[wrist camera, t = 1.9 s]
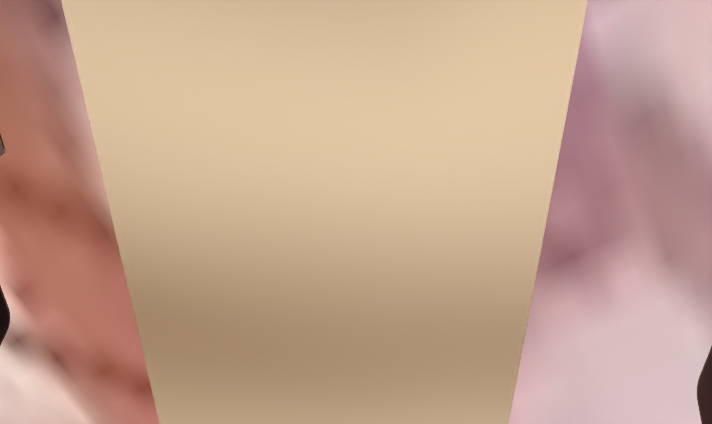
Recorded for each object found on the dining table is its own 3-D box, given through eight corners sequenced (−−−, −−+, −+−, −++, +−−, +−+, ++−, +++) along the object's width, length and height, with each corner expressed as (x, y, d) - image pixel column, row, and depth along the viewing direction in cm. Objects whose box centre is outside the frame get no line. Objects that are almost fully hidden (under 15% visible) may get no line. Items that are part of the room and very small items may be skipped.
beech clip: (461, 369, 16) (461, 677, 10) (294, 352, 16) (209, 639, 11) (538, -252, 9) (644, -299, 4) (256, -251, 10) (-7, -292, 4)
